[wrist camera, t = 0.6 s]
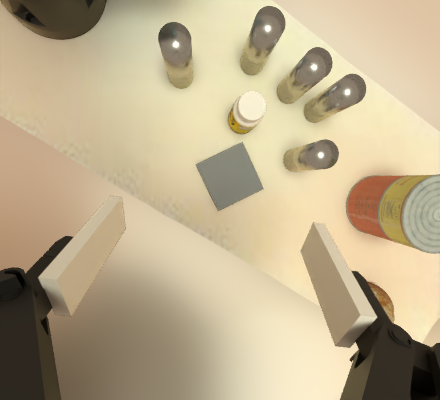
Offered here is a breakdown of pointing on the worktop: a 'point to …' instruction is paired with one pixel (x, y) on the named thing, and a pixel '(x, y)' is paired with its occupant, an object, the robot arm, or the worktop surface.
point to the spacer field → (287, 90)
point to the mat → (229, 176)
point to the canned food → (398, 209)
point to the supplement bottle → (247, 112)
